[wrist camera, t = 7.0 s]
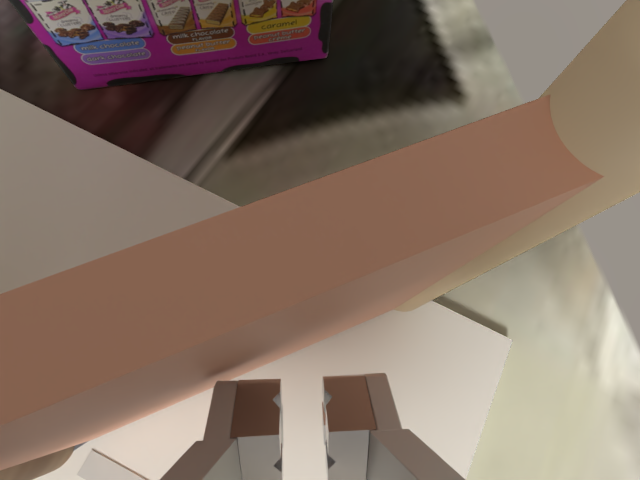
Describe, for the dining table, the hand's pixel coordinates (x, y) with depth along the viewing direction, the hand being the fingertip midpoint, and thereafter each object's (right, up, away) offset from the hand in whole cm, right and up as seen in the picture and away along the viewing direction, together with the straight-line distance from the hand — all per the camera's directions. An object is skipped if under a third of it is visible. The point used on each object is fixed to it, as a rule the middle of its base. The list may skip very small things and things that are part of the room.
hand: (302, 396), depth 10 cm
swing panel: (-1, 0, +5) cm, 5 cm away
